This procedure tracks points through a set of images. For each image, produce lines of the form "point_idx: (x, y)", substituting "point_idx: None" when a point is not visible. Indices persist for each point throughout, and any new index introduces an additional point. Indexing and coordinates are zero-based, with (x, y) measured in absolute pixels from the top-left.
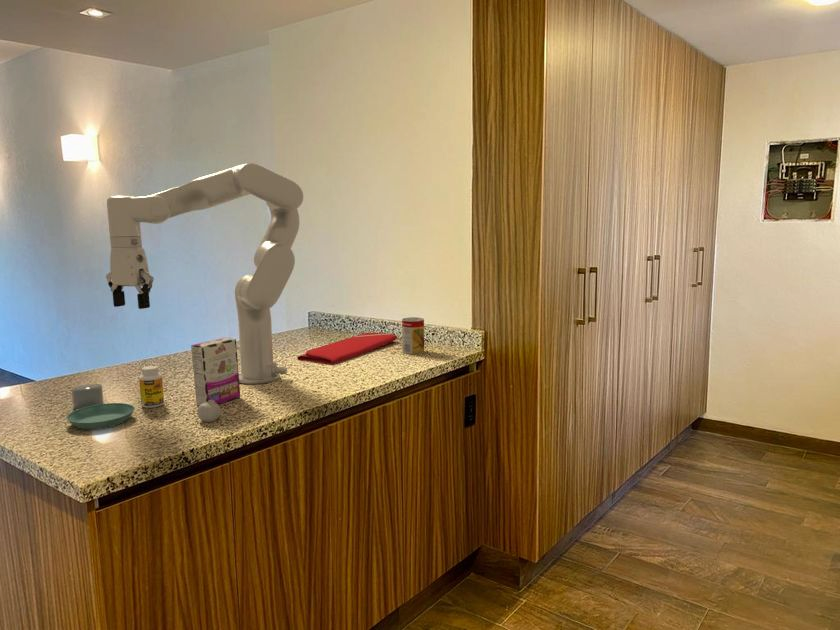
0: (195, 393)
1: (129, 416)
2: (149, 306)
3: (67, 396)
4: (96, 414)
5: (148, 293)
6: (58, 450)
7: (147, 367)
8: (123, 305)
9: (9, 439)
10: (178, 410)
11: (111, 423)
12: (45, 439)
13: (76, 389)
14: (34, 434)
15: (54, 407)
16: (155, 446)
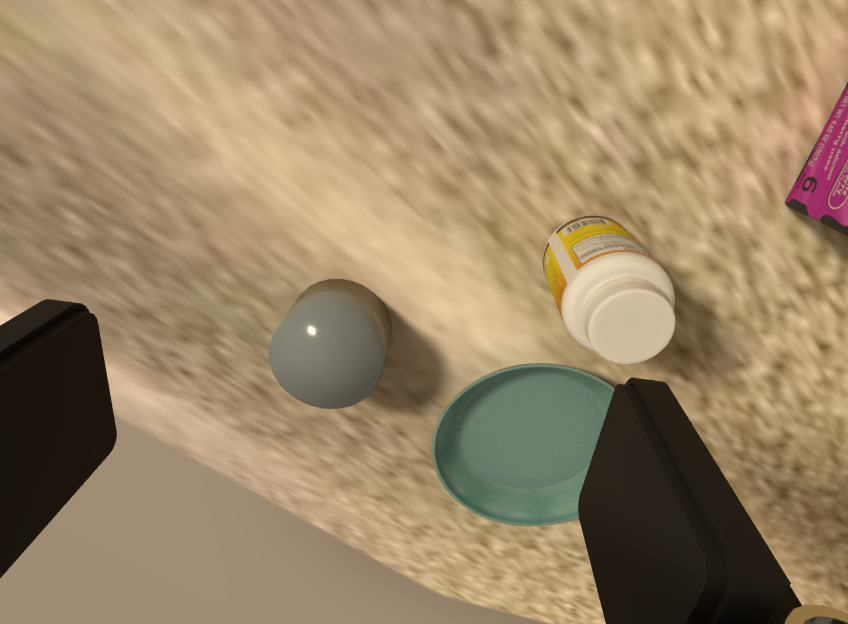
0: (815, 219)
1: None
2: (664, 391)
3: (146, 258)
4: (467, 401)
5: (775, 573)
6: (587, 591)
7: (616, 330)
8: (89, 326)
9: (402, 570)
10: (733, 276)
11: None
12: (491, 554)
13: (309, 390)
14: (430, 538)
15: (244, 369)
16: (831, 532)
